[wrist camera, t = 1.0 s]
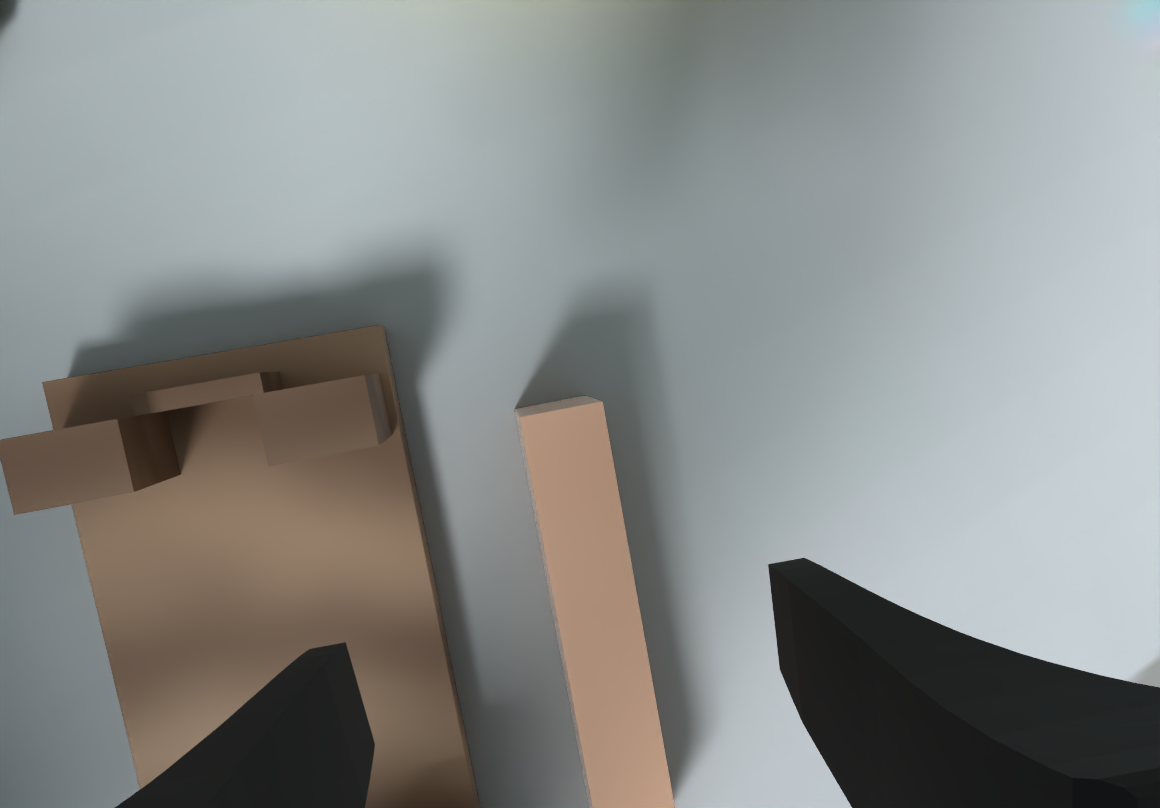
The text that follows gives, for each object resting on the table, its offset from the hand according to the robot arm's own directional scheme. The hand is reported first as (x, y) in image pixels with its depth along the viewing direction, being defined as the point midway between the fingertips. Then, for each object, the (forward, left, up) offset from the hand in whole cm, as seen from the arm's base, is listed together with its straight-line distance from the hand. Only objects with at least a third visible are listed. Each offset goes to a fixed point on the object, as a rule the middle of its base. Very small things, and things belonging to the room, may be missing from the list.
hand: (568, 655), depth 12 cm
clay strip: (-5, -2, -13) cm, 14 cm away
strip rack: (-3, +9, -13) cm, 16 cm away
